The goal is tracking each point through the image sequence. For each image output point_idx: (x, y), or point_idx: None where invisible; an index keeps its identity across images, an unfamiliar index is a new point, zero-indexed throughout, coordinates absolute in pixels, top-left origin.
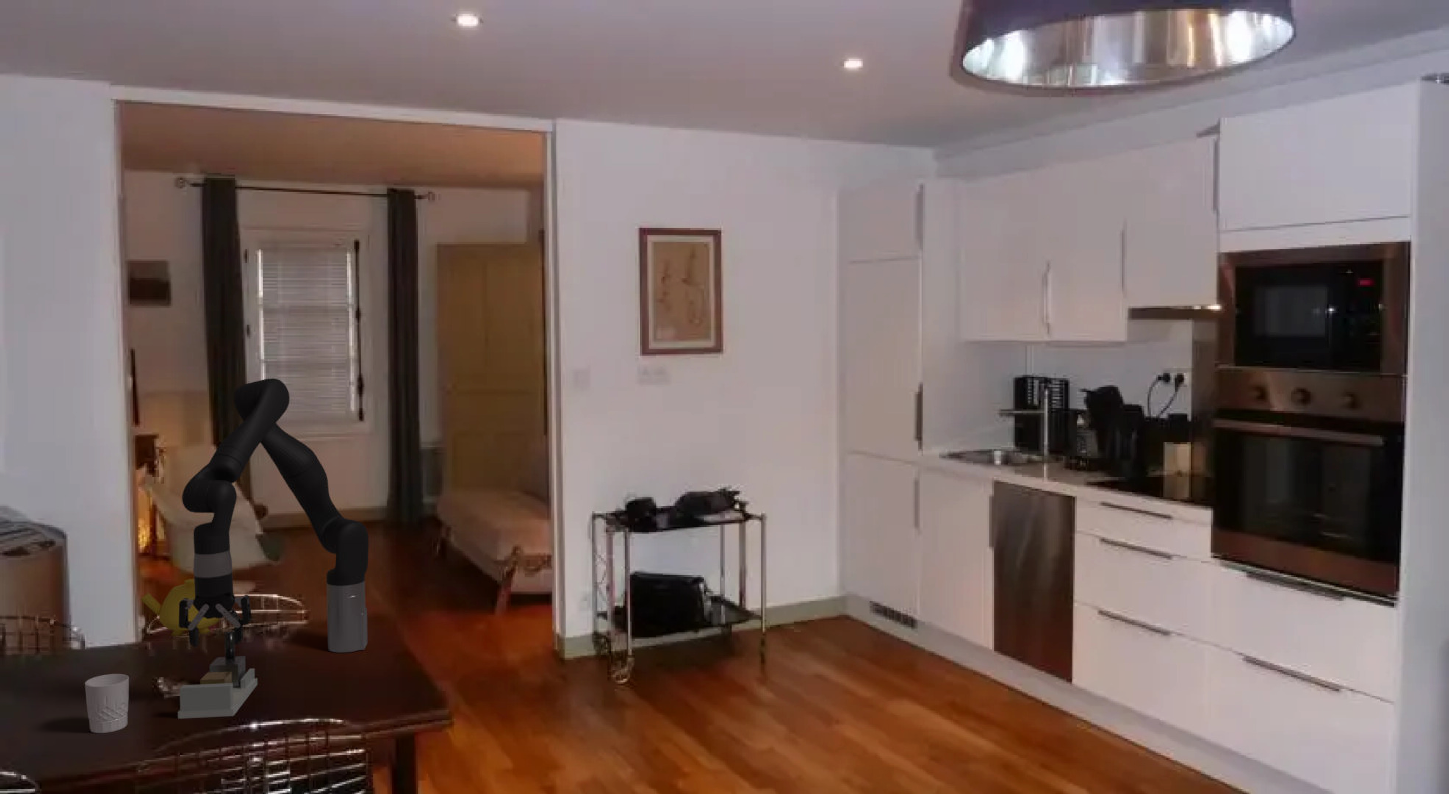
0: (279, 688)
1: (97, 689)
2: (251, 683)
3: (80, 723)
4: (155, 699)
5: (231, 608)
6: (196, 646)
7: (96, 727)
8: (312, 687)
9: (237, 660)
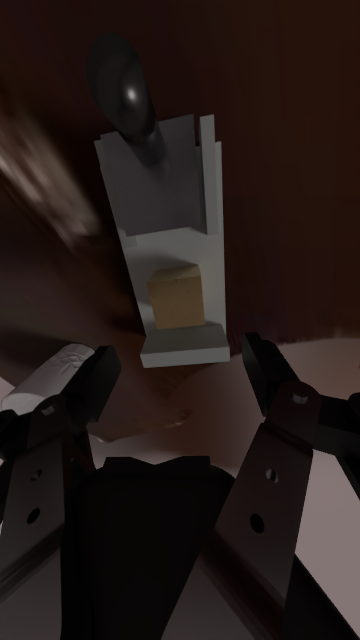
0: (276, 181)
1: None
2: (218, 193)
3: (35, 347)
4: (58, 255)
5: (292, 535)
6: (120, 366)
7: None
8: (356, 171)
9: (185, 179)
